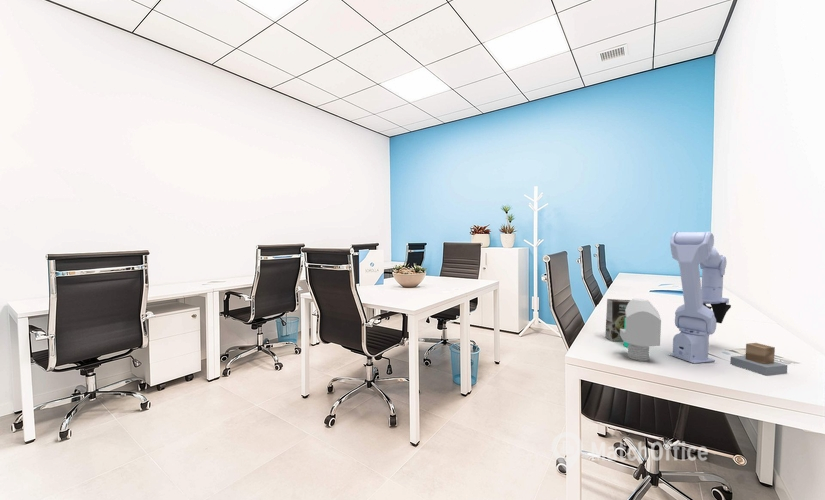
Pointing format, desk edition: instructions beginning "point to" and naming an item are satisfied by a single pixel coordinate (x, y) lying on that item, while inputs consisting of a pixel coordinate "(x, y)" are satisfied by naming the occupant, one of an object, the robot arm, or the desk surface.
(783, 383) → the desk surface
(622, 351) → the desk surface
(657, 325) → the light fixture
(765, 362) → the block
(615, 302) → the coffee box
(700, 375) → the desk surface
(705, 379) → the desk surface
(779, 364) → the plinth
